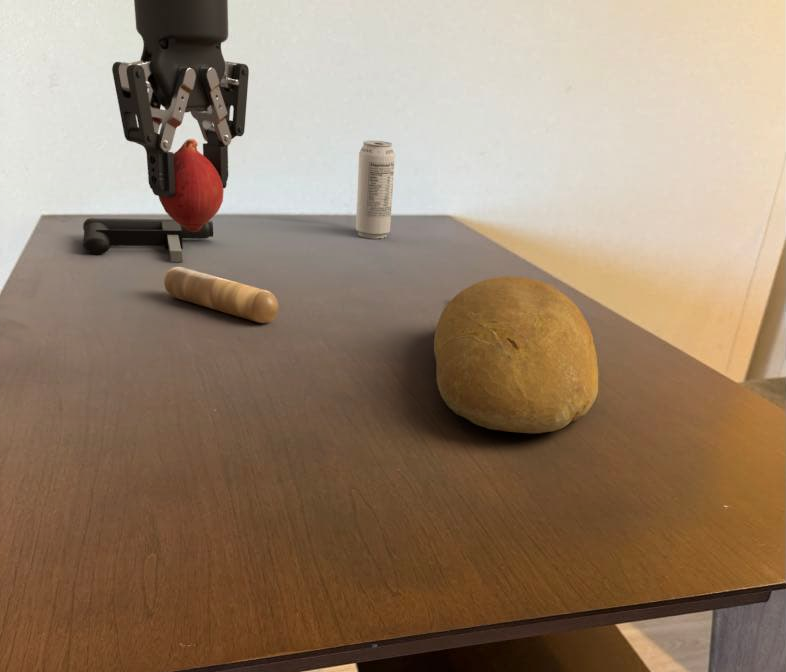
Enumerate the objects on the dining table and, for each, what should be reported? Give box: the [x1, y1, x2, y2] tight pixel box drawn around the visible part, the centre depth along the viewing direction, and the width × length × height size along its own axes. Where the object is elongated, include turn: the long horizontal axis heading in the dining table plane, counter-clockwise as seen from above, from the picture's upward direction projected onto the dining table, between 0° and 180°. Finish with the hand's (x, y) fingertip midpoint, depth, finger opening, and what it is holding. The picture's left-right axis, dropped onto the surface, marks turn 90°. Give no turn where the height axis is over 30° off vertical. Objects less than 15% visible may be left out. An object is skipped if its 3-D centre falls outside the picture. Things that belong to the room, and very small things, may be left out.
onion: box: [158, 138, 225, 232], centre depth 78 cm, size 6×6×8 cm
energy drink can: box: [355, 140, 396, 240], centre depth 146 cm, size 6×6×15 cm
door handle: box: [82, 217, 214, 263], centre depth 132 cm, size 3×20×16 cm
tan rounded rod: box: [163, 266, 280, 324], centre depth 108 cm, size 18×4×4 cm, turn 57°
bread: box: [433, 275, 599, 434], centre depth 93 cm, size 18×35×10 cm, turn 178°
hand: (190, 191), depth 78 cm, fingers closed on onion, 6 cm apart
